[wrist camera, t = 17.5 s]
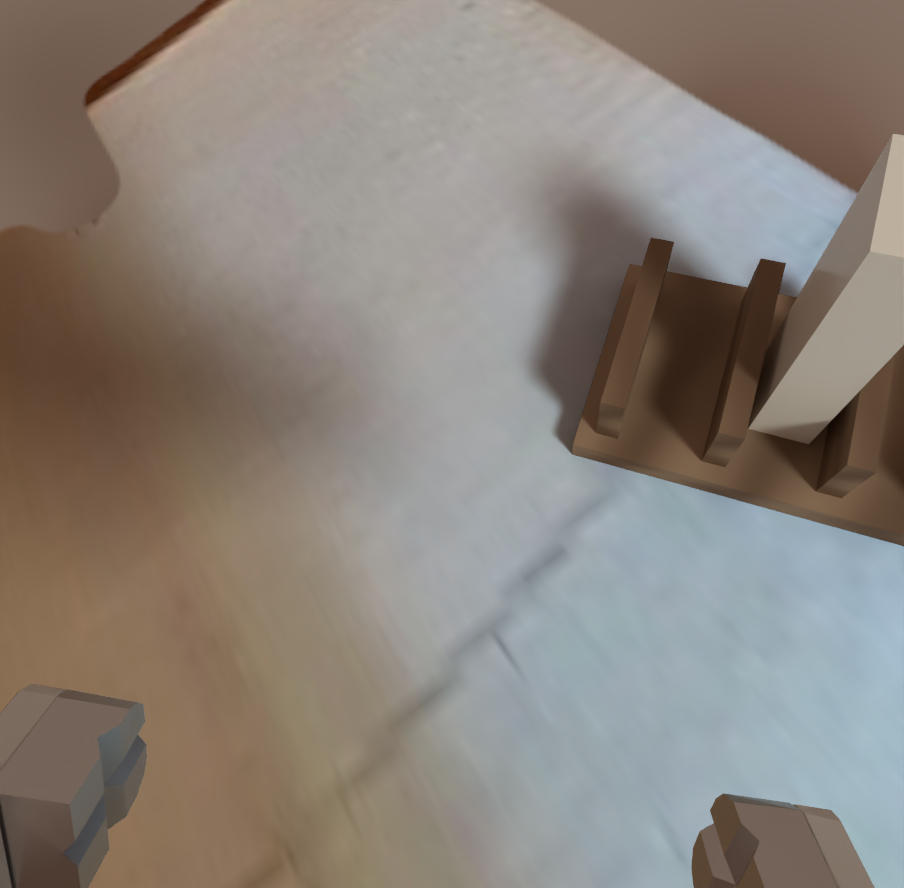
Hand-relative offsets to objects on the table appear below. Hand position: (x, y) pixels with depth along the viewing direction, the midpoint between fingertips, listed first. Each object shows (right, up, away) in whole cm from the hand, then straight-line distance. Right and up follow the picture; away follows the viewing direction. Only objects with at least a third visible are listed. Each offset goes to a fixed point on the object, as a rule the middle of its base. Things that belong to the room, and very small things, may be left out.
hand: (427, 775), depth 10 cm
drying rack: (+18, +7, +28) cm, 34 cm away
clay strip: (+18, +7, +26) cm, 33 cm away
